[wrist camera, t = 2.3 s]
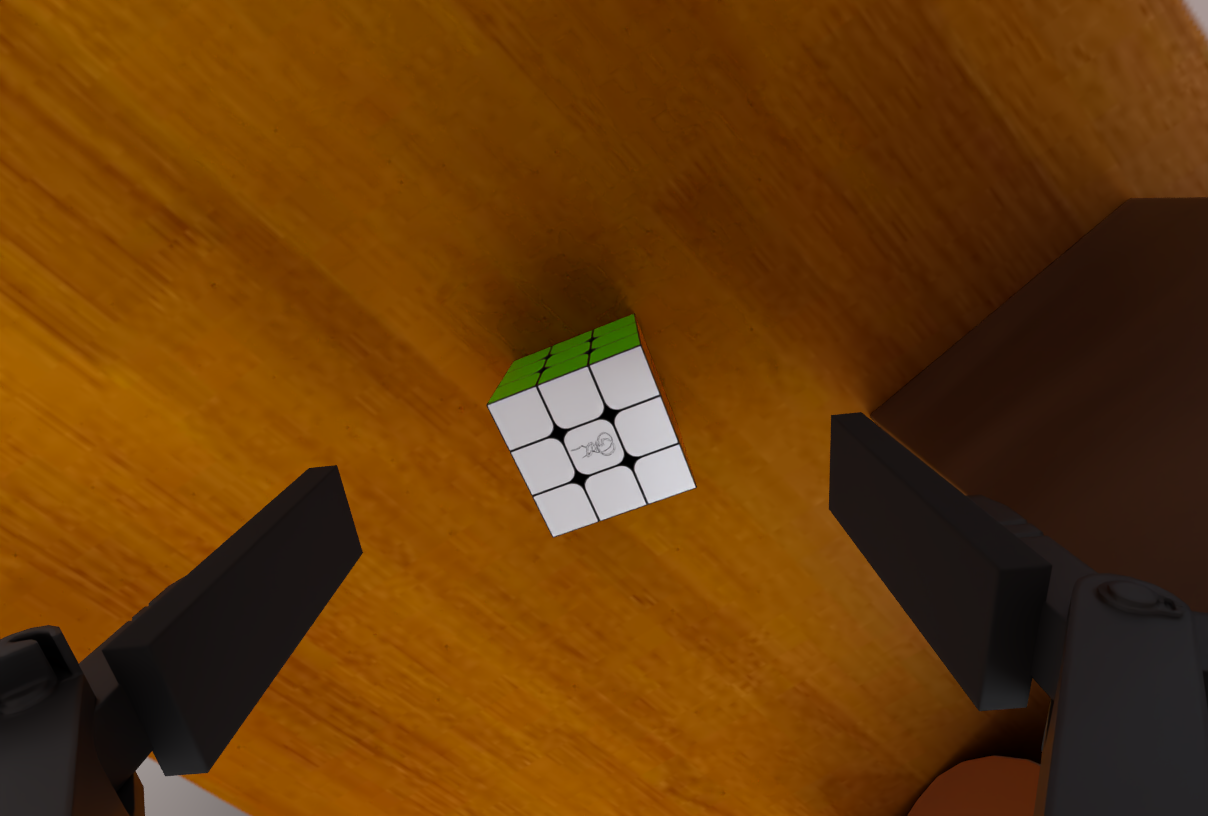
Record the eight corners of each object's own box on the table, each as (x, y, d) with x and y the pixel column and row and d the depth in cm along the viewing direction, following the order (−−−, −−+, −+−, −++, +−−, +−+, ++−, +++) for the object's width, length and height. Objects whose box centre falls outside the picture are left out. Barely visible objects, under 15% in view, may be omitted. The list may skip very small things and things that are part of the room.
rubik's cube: (512, 359, 21) (484, 402, 17) (636, 312, 21) (643, 343, 16) (562, 471, 23) (550, 539, 18) (679, 430, 22) (698, 490, 18)
